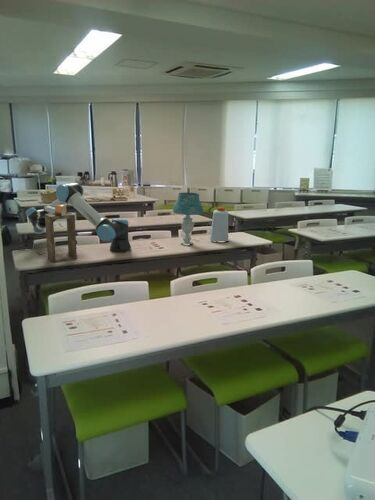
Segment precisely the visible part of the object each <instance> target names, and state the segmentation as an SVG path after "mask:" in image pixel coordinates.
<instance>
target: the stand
mask: <svg viewBox="0 0 375 500" xmlns="http://www.w3.org/2000/svg"><path fill="white" fill-rule="evenodd" d="M55 219H58V220H65V219H66V231H67V233H66V234H67V250H68V251H67V252H68V253H62V254H61V253H60V254H56V242H55V229H54V226H55V225H54V222H53V220H55ZM45 226H46V229H45V238H46V248H47V249H46V252H47V253H46V254H47V259H48V260H49V261H50V262H51V263H58V262H59V263H60V262H64V261H65V262H66V261H70V260H77V259H78V256H77V255H78V254H77V235H76V234H77V233H76V215H75V214H74V213H72V212H69V211H68V212H67V215H64V216H57V215H55V214H54V213H52V214H45Z"/></svg>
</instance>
